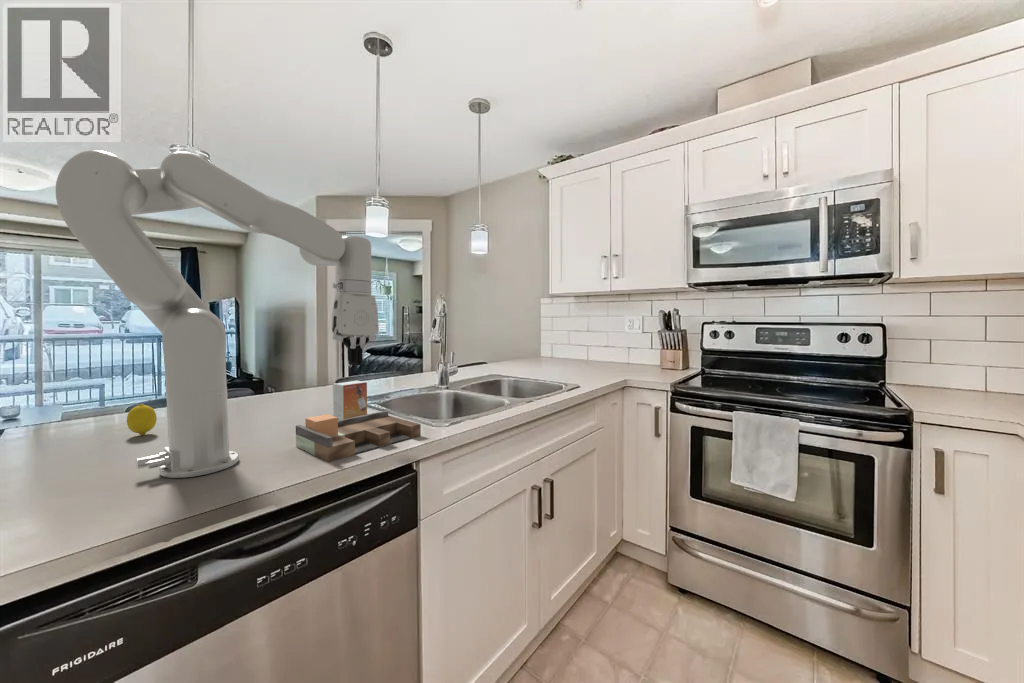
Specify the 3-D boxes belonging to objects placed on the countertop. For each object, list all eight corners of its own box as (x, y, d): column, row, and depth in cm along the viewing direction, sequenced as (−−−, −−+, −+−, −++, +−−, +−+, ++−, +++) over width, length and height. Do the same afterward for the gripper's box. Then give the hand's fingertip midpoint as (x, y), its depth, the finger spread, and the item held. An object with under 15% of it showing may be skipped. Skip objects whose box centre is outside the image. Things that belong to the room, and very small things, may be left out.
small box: (343, 421, 116) (342, 385, 116) (332, 418, 120) (332, 383, 119) (368, 416, 123) (367, 381, 122) (357, 413, 126) (356, 379, 125)
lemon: (143, 438, 99) (141, 406, 99) (121, 438, 99) (119, 406, 99) (163, 432, 105) (161, 401, 104) (142, 431, 105) (140, 401, 104)
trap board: (328, 461, 84) (327, 438, 84) (296, 446, 94) (295, 425, 93) (420, 435, 103) (420, 416, 103) (386, 425, 112) (386, 407, 112)
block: (316, 439, 89) (315, 421, 89) (305, 435, 92) (305, 418, 92) (338, 434, 93) (337, 417, 93) (327, 430, 96) (326, 414, 96)
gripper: (332, 286, 90) (333, 368, 91) (390, 290, 101) (390, 363, 102) (316, 287, 94) (317, 365, 95) (373, 291, 106) (373, 361, 107)
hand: (355, 364), depth 99 cm, fingers closed
